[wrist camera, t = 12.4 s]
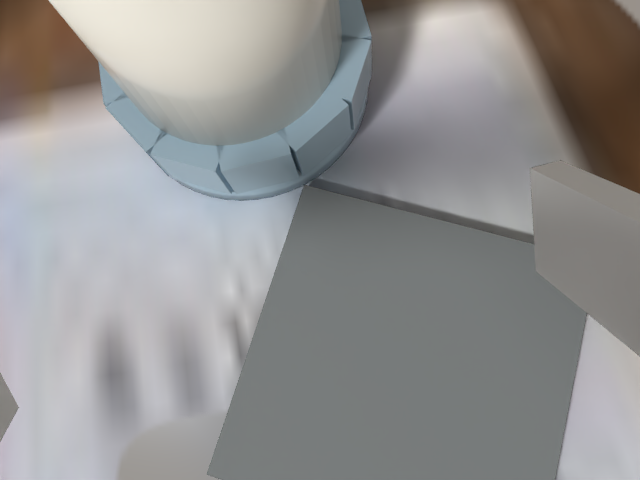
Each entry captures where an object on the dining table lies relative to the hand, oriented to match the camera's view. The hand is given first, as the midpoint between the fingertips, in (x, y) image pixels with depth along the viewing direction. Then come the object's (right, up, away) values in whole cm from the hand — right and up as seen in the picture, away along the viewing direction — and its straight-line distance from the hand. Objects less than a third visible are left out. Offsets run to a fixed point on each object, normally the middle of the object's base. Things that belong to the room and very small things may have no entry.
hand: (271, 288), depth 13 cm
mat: (+4, -4, +9) cm, 10 cm away
